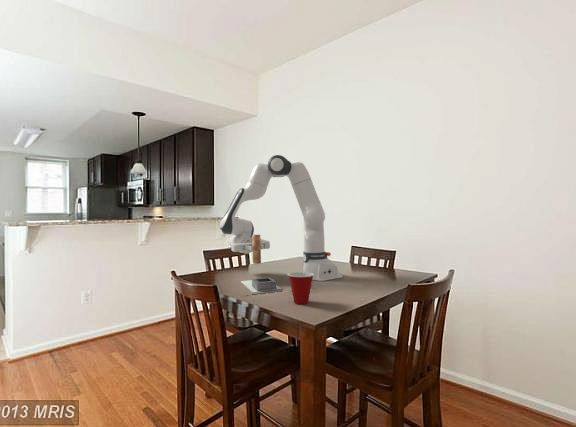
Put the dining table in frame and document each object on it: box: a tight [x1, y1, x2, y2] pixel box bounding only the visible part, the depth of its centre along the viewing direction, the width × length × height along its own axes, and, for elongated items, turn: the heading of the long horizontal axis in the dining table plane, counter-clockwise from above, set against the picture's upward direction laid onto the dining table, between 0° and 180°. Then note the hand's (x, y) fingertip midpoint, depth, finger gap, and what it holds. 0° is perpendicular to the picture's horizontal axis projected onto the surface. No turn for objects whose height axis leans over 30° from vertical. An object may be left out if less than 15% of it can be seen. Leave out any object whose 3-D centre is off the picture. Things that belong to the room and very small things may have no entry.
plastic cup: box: [287, 271, 314, 305], centre depth 134 cm, size 11×11×12 cm
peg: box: [252, 234, 262, 265], centre depth 163 cm, size 4×4×14 cm
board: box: [240, 276, 283, 296], centre depth 157 cm, size 14×22×5 cm, turn 22°
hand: (257, 247), depth 162 cm, fingers closed on peg, 4 cm apart
